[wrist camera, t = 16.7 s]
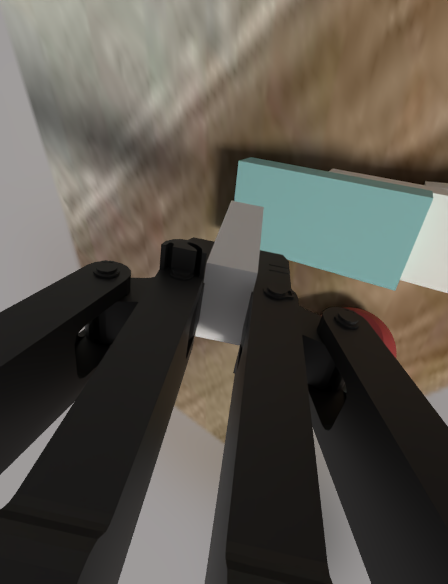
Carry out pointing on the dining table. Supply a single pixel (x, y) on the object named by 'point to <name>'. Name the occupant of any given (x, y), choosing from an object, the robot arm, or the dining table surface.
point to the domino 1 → (334, 219)
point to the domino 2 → (425, 239)
